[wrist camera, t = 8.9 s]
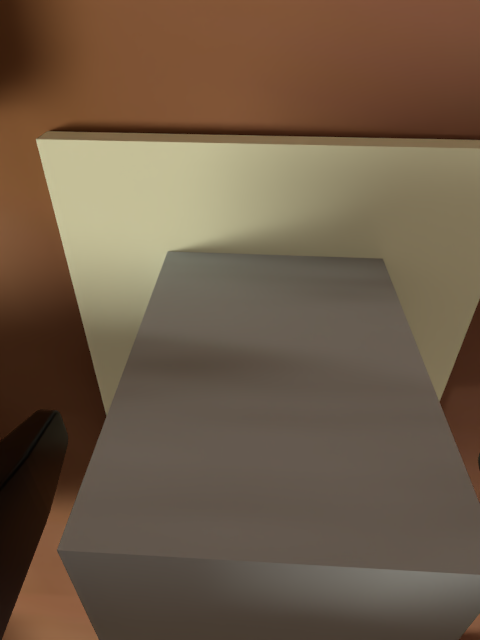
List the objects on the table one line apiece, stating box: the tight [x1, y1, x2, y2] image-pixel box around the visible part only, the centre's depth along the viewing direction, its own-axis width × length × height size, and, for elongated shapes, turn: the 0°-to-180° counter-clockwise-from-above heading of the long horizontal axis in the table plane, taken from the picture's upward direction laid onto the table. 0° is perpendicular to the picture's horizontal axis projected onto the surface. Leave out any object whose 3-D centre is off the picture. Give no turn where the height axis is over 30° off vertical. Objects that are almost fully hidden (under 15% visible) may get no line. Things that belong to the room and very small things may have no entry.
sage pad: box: [36, 131, 480, 416], centre depth 12 cm, size 10×10×1 cm
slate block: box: [57, 251, 480, 640], centre depth 9 cm, size 5×5×7 cm
